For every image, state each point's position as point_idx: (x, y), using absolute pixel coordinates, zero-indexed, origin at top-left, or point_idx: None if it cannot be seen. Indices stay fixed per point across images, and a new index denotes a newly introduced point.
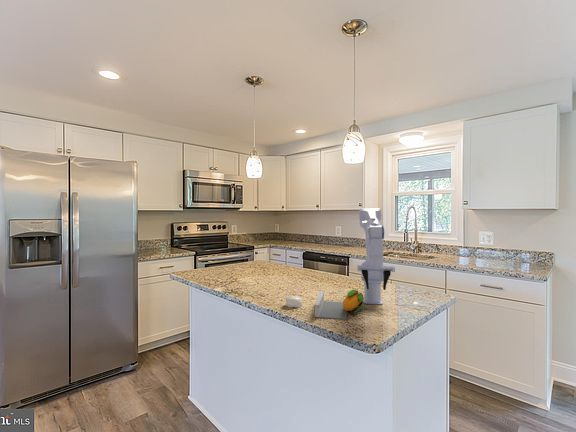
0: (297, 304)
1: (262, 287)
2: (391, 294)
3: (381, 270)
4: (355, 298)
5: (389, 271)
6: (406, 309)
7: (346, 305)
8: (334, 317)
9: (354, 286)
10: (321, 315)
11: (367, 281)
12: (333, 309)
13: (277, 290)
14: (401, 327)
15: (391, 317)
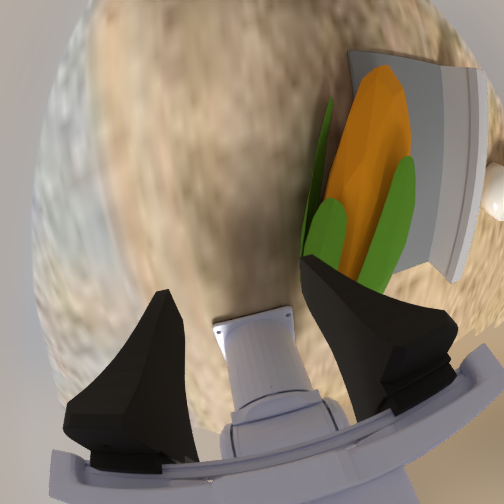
0: (493, 172)
1: (500, 297)
2: (207, 410)
3: (200, 471)
4: (359, 192)
5: (99, 459)
6: (106, 305)
7: (389, 75)
8: (396, 60)
9: None
10: (436, 82)
11: (342, 289)
12: None
13: (488, 295)
14: (78, 45)
15: (132, 162)
